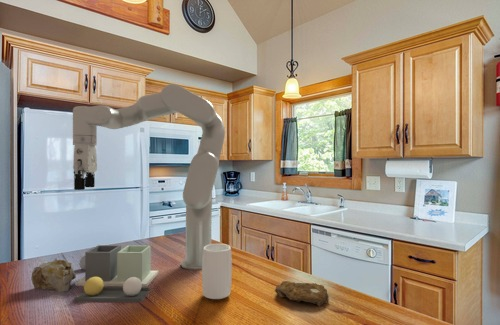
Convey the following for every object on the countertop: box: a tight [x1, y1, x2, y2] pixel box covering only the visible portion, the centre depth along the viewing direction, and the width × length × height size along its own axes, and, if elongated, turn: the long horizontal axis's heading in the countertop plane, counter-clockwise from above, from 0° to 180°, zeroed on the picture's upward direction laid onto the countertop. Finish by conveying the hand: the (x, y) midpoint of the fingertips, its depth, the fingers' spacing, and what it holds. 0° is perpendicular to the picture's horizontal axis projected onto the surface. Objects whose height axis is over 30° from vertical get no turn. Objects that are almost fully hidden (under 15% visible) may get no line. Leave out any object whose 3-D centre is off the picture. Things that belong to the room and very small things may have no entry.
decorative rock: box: [274, 280, 330, 307], centre depth 84 cm, size 11×4×15 cm
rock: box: [30, 258, 77, 293], centre depth 90 cm, size 12×7×10 cm, turn 72°
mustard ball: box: [83, 277, 105, 296], centre depth 84 cm, size 5×5×5 cm
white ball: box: [122, 277, 143, 296], centre depth 84 cm, size 5×5×5 cm
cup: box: [201, 243, 233, 300], centre depth 84 cm, size 8×8×14 cm
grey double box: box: [74, 244, 159, 287], centre depth 95 cm, size 22×11×10 cm, turn 90°
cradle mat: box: [70, 286, 152, 303], centre depth 84 cm, size 19×8×1 cm, turn 90°
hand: (84, 188), depth 106 cm, fingers open, 9 cm apart
